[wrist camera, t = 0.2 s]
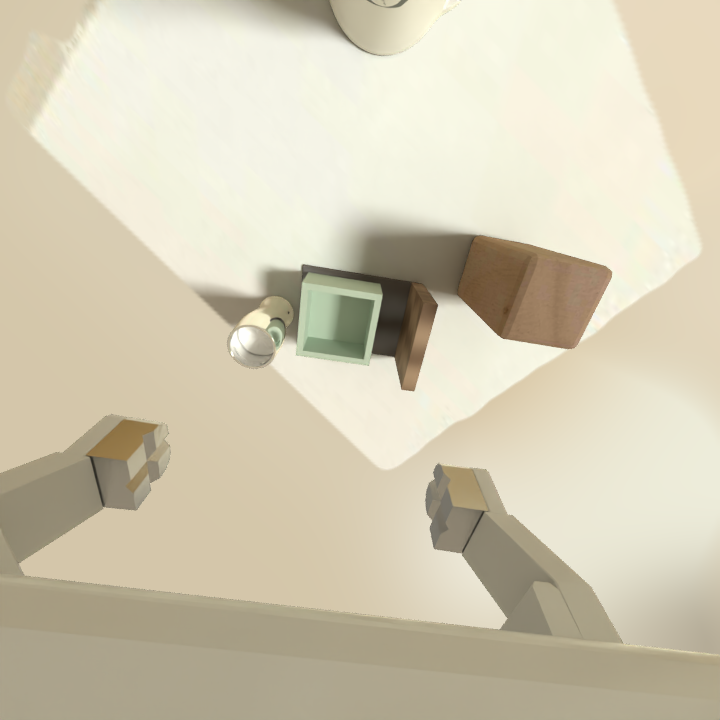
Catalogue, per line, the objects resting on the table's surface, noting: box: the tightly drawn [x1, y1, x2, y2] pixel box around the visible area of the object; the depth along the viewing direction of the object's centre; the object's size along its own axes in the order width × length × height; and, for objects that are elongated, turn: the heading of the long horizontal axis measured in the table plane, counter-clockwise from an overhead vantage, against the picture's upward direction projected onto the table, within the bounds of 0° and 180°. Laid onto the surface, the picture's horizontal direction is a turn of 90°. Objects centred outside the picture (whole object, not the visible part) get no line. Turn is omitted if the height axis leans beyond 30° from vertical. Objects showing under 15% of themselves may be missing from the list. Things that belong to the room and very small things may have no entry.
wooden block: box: [457, 236, 612, 349], centre depth 46 cm, size 10×10×20 cm
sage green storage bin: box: [296, 272, 383, 366], centre depth 54 cm, size 12×12×7 cm
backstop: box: [297, 265, 438, 391], centre depth 53 cm, size 14×20×12 cm
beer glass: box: [227, 296, 294, 369], centre depth 51 cm, size 7×7×15 cm
